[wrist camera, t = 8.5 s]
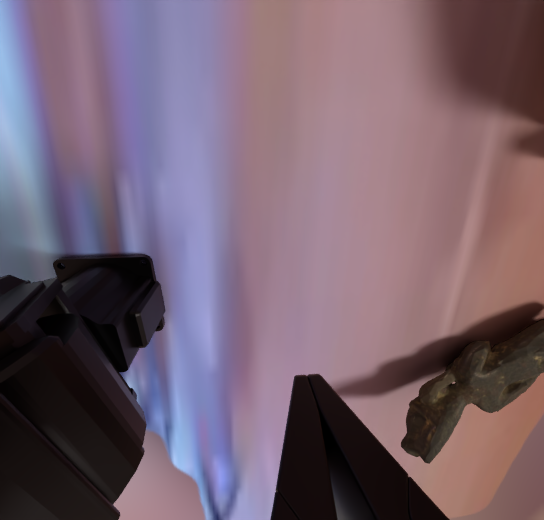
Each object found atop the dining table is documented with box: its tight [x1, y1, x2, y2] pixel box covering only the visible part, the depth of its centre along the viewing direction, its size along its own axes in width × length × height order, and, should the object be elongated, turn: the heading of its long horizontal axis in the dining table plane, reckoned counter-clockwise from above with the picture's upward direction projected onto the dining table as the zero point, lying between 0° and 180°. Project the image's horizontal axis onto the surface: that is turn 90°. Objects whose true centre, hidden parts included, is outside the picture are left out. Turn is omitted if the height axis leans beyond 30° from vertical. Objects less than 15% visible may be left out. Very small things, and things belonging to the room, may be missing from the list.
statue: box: [401, 319, 544, 463], centre depth 24 cm, size 6×6×20 cm
